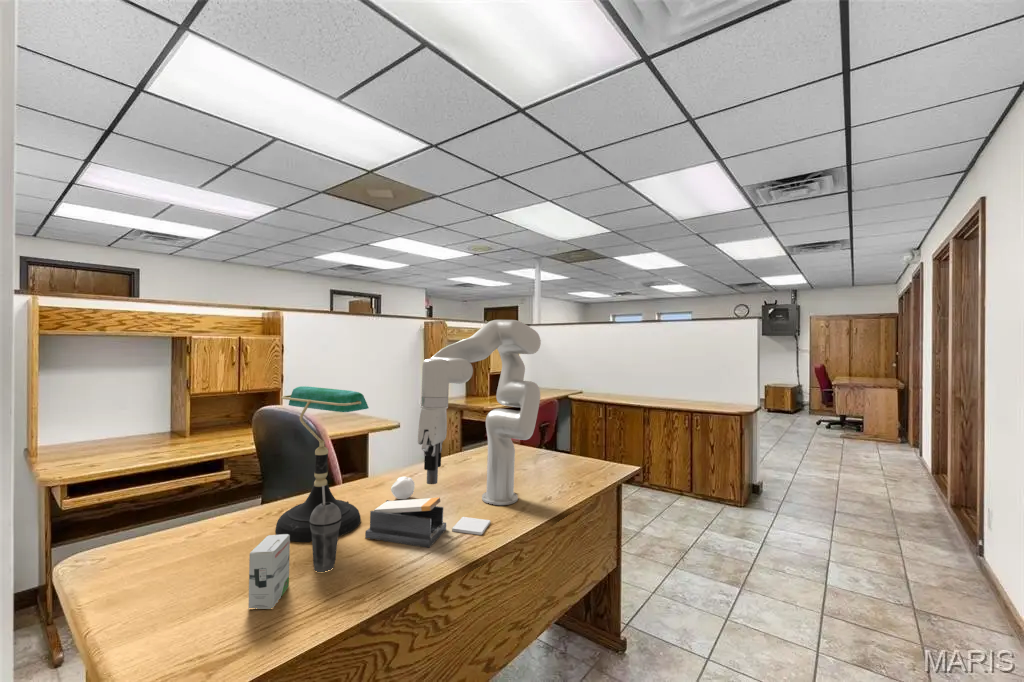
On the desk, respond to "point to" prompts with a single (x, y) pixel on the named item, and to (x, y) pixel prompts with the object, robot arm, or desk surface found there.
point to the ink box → (269, 571)
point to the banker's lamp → (320, 463)
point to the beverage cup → (325, 534)
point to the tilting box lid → (408, 505)
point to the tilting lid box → (407, 527)
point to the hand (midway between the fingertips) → (432, 467)
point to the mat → (471, 525)
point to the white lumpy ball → (403, 488)
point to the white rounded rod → (433, 475)
